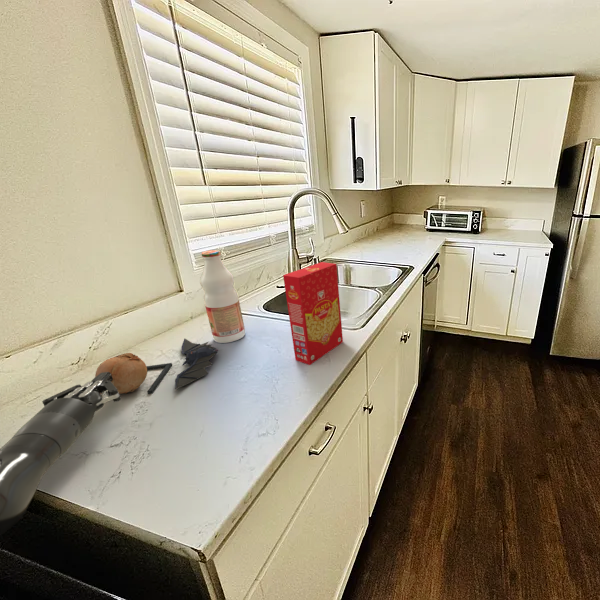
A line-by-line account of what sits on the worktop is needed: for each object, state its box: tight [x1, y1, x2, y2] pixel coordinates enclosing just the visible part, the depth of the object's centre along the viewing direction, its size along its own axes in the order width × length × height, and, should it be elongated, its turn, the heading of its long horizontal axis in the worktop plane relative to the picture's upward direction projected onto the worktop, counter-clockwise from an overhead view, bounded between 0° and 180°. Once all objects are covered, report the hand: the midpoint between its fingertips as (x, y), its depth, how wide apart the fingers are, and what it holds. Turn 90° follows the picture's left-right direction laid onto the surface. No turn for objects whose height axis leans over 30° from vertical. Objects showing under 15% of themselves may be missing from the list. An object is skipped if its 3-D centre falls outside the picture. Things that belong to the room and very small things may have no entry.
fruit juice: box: [199, 249, 246, 344], centre depth 100 cm, size 9×9×28 cm
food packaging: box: [282, 261, 344, 366], centre depth 92 cm, size 15×5×25 cm, turn 152°
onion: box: [94, 352, 148, 395], centre depth 78 cm, size 10×9×10 cm
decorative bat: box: [174, 338, 219, 390], centre depth 91 cm, size 30×4×10 cm
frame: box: [146, 362, 173, 395], centre depth 82 cm, size 14×13×1 cm
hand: (106, 375), depth 73 cm, fingers closed
